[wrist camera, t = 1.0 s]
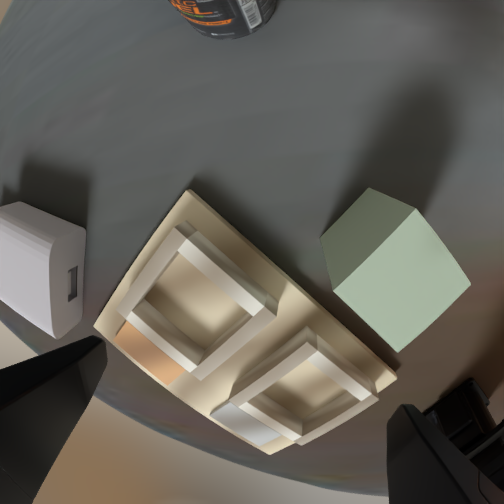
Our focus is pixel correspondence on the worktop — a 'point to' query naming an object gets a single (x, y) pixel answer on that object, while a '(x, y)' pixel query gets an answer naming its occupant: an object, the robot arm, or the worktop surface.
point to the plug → (391, 267)
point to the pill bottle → (225, 16)
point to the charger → (41, 267)
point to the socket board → (238, 334)
